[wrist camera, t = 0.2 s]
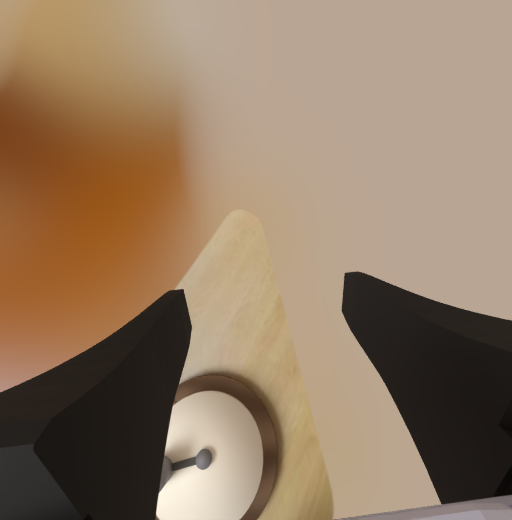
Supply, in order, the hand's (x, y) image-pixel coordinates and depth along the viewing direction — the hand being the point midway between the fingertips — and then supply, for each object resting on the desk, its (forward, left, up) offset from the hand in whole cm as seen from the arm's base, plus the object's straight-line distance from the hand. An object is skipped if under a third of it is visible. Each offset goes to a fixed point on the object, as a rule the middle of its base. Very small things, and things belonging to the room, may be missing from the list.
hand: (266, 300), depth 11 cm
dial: (-13, +7, -30) cm, 33 cm away
